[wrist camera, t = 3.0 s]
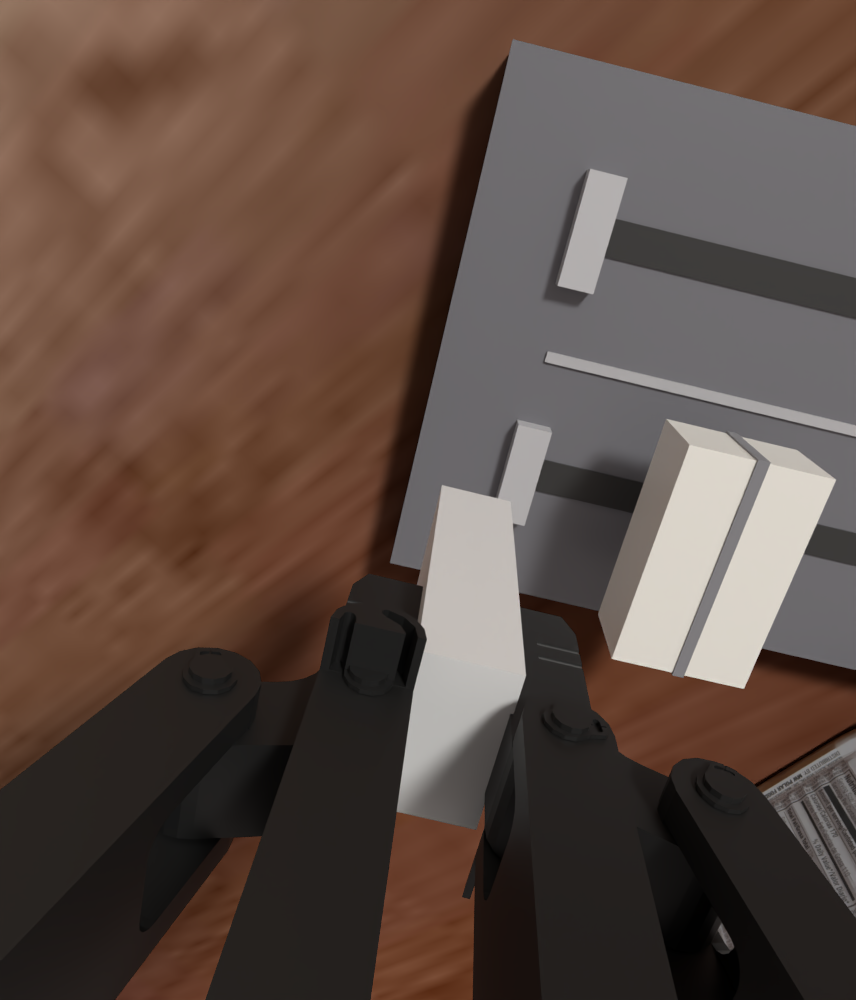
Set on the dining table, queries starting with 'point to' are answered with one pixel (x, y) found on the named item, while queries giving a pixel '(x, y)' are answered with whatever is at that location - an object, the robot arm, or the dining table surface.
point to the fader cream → (710, 552)
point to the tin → (821, 812)
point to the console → (646, 322)
